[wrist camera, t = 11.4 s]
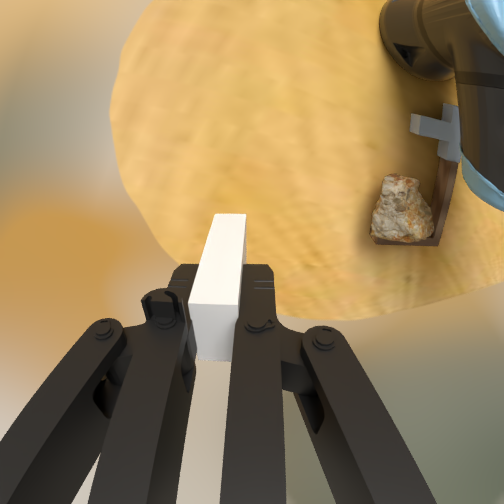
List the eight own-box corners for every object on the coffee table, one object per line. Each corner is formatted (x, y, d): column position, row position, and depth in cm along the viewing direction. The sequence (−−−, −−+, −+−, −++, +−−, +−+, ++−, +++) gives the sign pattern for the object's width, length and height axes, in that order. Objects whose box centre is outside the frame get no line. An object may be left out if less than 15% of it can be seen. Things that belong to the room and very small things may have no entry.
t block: (412, 94, 35) (422, 96, 32) (456, 107, 35) (467, 109, 32) (407, 149, 40) (415, 154, 37) (450, 157, 39) (459, 162, 37)
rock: (354, 221, 46) (374, 254, 38) (370, 161, 41) (397, 182, 32) (413, 232, 47) (439, 263, 38) (431, 178, 42) (464, 201, 33)
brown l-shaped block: (383, 146, 40) (392, 151, 37) (447, 157, 39) (458, 163, 36) (369, 234, 47) (376, 244, 44) (429, 236, 47) (437, 246, 44)
